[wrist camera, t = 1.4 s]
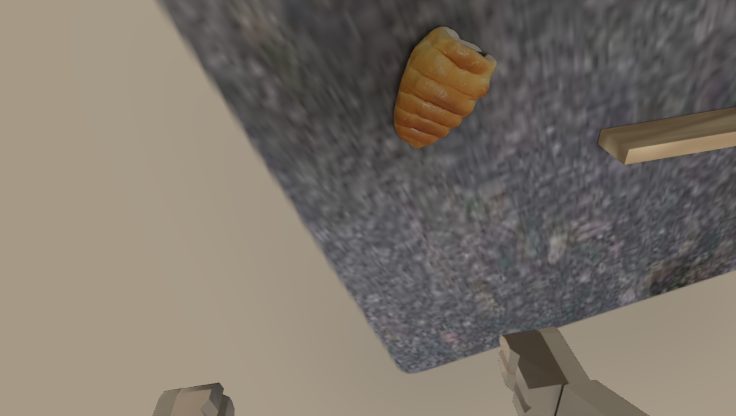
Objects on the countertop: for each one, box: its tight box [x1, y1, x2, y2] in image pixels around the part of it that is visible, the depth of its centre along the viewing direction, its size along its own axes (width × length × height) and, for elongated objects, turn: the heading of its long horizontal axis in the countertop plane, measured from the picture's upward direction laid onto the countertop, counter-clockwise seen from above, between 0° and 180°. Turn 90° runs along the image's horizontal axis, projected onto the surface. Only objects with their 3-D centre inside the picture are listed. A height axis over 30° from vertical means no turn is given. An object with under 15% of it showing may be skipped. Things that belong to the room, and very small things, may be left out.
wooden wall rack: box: [598, 107, 736, 165], centre depth 29 cm, size 20×14×5 cm
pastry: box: [394, 27, 497, 148], centre depth 30 cm, size 9×7×4 cm
